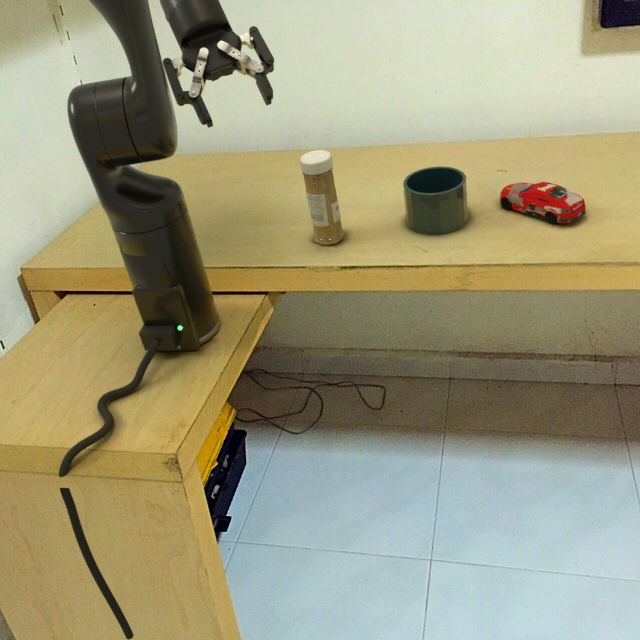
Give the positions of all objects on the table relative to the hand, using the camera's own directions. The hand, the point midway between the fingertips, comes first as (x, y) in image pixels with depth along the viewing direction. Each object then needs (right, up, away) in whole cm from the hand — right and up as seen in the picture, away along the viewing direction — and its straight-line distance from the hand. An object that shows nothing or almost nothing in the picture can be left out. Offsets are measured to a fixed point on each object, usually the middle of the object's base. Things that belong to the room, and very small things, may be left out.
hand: (240, 113), depth 100 cm
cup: (+28, -13, +12) cm, 33 cm away
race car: (+43, -12, +10) cm, 46 cm away
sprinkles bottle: (+12, -16, +12) cm, 23 cm away
